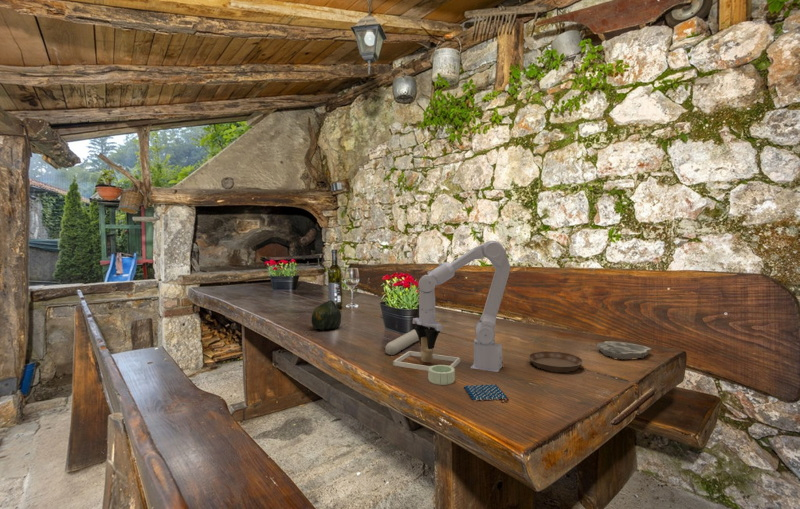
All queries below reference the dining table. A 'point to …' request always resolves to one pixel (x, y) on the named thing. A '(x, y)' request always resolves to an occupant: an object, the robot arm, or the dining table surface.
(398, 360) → the beige rectangular frame
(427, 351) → the dowel pin
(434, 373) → the pale green short ring
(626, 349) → the grey stone slab
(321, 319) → the squash
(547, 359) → the plant saucer
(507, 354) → the dining table surface
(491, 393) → the woven mat
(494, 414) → the dining table surface
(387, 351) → the tube
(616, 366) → the dining table surface
